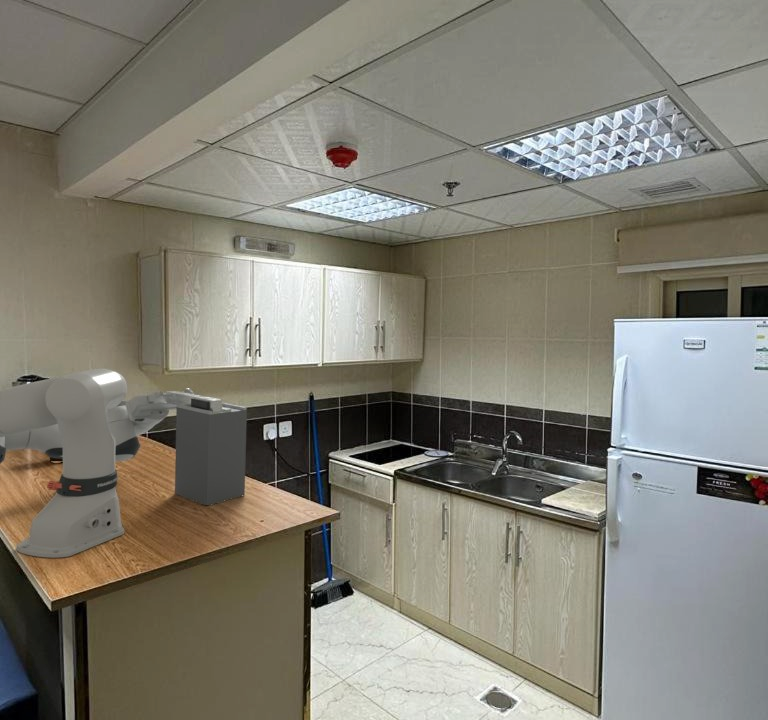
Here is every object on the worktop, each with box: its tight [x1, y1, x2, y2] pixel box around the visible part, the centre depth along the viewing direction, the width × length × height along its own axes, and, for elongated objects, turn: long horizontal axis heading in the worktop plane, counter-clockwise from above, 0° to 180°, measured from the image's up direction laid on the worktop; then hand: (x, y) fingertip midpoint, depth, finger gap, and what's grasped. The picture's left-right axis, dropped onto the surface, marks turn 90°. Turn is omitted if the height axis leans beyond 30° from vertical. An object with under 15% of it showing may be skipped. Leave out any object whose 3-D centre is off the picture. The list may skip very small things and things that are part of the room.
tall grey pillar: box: [174, 402, 248, 506], centre depth 155 cm, size 16×13×27 cm
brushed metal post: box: [165, 390, 223, 413], centre depth 155 cm, size 24×4×4 cm, turn 53°
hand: (175, 391), depth 161 cm, fingers open, 8 cm apart
